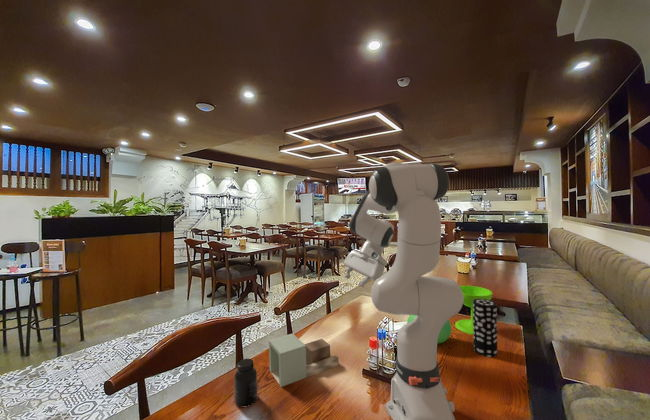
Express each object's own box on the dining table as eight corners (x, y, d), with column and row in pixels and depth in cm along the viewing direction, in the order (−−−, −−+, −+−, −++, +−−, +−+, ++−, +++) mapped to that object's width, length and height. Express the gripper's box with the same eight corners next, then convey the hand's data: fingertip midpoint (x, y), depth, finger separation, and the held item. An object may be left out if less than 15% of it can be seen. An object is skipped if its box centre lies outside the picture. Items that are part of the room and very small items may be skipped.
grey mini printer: (323, 353, 113) (323, 344, 113) (338, 366, 103) (338, 356, 103) (269, 372, 101) (269, 362, 101) (281, 388, 92) (280, 378, 91)
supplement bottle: (230, 404, 85) (229, 366, 84) (244, 390, 91) (243, 354, 91) (248, 410, 82) (247, 370, 82) (261, 395, 88) (260, 358, 88)
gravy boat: (408, 348, 115) (407, 313, 115) (406, 330, 131) (405, 299, 131) (455, 353, 111) (454, 316, 110) (447, 333, 127) (446, 302, 127)
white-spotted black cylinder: (470, 345, 116) (470, 298, 116) (492, 347, 115) (492, 299, 114) (477, 356, 108) (476, 305, 108) (501, 358, 106) (500, 306, 106)
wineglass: (455, 318, 143) (455, 284, 143) (491, 324, 136) (491, 288, 135) (454, 331, 129) (453, 293, 129) (494, 338, 122) (493, 298, 121)
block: (322, 356, 110) (322, 338, 110) (330, 363, 104) (330, 345, 104) (304, 362, 106) (304, 344, 105) (311, 370, 100) (311, 351, 100)
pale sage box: (293, 362, 106) (292, 333, 106) (306, 377, 96) (305, 345, 96) (269, 370, 101) (268, 340, 101) (281, 387, 92) (280, 353, 91)
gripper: (350, 244, 127) (334, 270, 124) (382, 257, 110) (365, 287, 107) (357, 251, 130) (342, 276, 127) (390, 264, 113) (374, 294, 110)
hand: (353, 281), depth 117 cm, fingers open, 8 cm apart
